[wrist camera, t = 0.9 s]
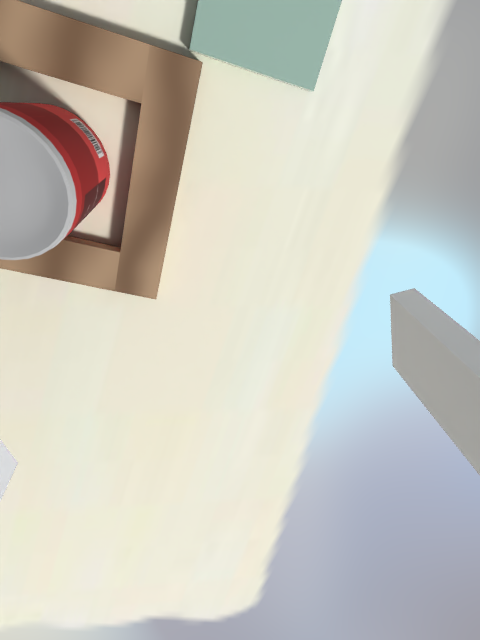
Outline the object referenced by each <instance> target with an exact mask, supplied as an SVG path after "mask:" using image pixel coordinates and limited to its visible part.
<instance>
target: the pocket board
mask: <svg viewBox="0 0 480 640" xmlns="http://www.w3.org/2000/svg"><path fill="white" fill-rule="evenodd" d="M0 61H2V62H5V63H8V64H12V65H15V66H18V67H22V68H25V69H28V70H31V71H35V72H38V73H41V74H45V75H48V76H51V77H55V78H58V79H61V80H65V81H68V82H71V83H75V84H78V85H81V86H85V87H88V88H91V89H95V90H98V91H101V92H105V93H108V94H111V95H115V96H118V97H121V98H125V99H128V100H131V101H135V102H138V103H141V110H140V117H139V124H138V131H137V138H136V145H135V152H134V159H133V166H132V173H131V180H130V187H129V194H128V201H127V208H126V215H125V222H124V229H123V236H122V243H121V247H116V246H112V245H107V244H103V243H98V242H94V241H89V240H85V239H80V238H76V237H71V236H66V237H65V238H64V239H63V240H62V241H61V242H60V243H59V244H58V245H57V246H55V247H54V248H52V249H50V250H48V251H47V252H45V253H43V254H41V255H39V256H35V257H32V258H29V259H21V260H3V259H0V268H2V269H7V270H12V271H17V272H22V273H27V274H32V275H37V276H42V277H47V278H52V279H57V280H62V281H67V282H72V283H77V284H82V285H87V286H92V287H97V288H102V289H107V290H112V291H117V292H122V293H127V294H132V295H137V296H142V297H147V298H152V299H156V297H157V292H158V287H159V282H160V277H161V272H162V267H163V262H164V256H165V251H166V246H167V241H168V236H169V231H170V226H171V221H172V216H173V210H174V205H175V200H176V195H177V190H178V185H179V180H180V175H181V170H182V165H183V159H184V154H185V149H186V144H187V139H188V134H189V129H190V124H191V119H192V114H193V108H194V103H195V98H196V93H197V88H198V83H199V78H200V73H201V68H202V62H201V61H198V60H195V59H192V58H189V57H186V56H183V55H180V54H177V53H174V52H171V51H168V50H165V49H162V48H159V47H156V46H153V45H150V44H147V43H144V42H141V41H138V40H135V39H132V38H129V37H126V36H123V35H120V34H117V33H114V32H111V31H108V30H105V29H102V28H99V27H96V26H93V25H90V24H87V23H84V22H81V21H78V20H75V19H72V18H69V17H66V16H63V15H60V14H57V13H54V12H51V11H48V10H45V9H42V8H39V7H36V6H33V5H30V4H27V3H24V2H21V1H18V0H0Z"/></svg>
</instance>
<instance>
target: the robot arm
mask: <svg viewBox="0 0 480 640" xmlns="http://www.w3.org/2000/svg"><path fill="white" fill-rule="evenodd" d="M390 301H391V302H390V304H391V333H392V359H393V367H394V368H395V369H396V370H397V372H398V373H399V374H400V375H401V377H402V378H403V379H404V381H406V383H407V384H408V386H409V387H410V388H411V389H412V391H413V392H414V393H415V394H416V396H417V397H418V398H419V399H420V401H421V402H422V403H423V404H424V406H425V407H426V408H427V410H428V411H429V412H430V413H431V414H432V416H433V417H434V418H435V419H436V421H437V422H438V423H439V425H440V426H441V427H442V428H443V430H444V431H445V432H446V433H447V435H448V436H449V437H450V438H451V440H452V441H453V442H454V444H455V445H456V446H457V447H458V448H459V450H460V451H461V452H462V453H463V455H464V456H465V457H466V459H467V460H468V461H469V462H470V464H471V465H472V466H473V468H474V469H475V470H476V471H477V473H478V474H479V475H480V341H479V340H478V339H477V338H475V337H474V336H473V335H472V334H471V333H469V332H468V331H467V330H466V329H464V328H463V327H462V326H460V325H459V324H458V323H457V322H456V321H454V320H453V319H452V318H451V317H449V316H448V315H447V314H446V313H444V312H443V311H442V310H441V309H439V308H438V307H437V306H436V305H435V304H433V303H432V302H431V301H430V300H428V299H427V298H426V297H424V296H423V295H422V294H421V293H419V292H418V291H417V290H416V289H410V290H406V291H402V292H398V293H395V294H391V295H390ZM17 464H18V462H17V461H16V459H15V458H14V457H13V455H12V454H11V453H10V451H9V450H8V449H7V447H6V446H5V445H4V443H3V442H2V441H1V439H0V501H1V499H2V496H3V494H4V492H5V490H6V488H7V485H8V483H9V481H10V479H11V477H12V475H13V472H14V470H15V468H16V466H17Z"/></svg>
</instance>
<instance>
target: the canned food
mask: <svg viewBox="0 0 480 640" xmlns="http://www.w3.org/2000/svg"><path fill="white" fill-rule="evenodd" d="M109 177H110V170H109V162H108V158H107V155H106V152H105V149H104V147H103V145H102V143H101V141H100V140H99V138H98V137H97V135H96V134H95V133H94V131H93V130H92V129H91V128H90V127H89V126H88V125H87V124H86V123H85V122H84V121H83V120H81V119H80V118H79V117H77V116H76V115H75V114H73V113H71V112H69V111H67V110H65V109H63V108H60V107H57V106H54V105H50V104H41V103H11V102H0V259H3V260H21V259H29V258H32V257H35V256H39V255H41V254H43V253H45V252H47V251H48V250H50V249H52V248H54V247H55V246H57V245H58V244H59V243H60V242H61V241H62V240H63V239H64V238H65V237H66V236H67V235H68V234H69V233H71V232H72V230H73V229H74V228H75V227H76V226H77V225H78V224H79V223H80V222H81V221H82V220H83V219H84V218H85V217H86V216H87V215H88V214H89V213H90V212H91V211H92V210H93V209H94V208H95V207H96V205H97V204H98V203H99V202H100V201H101V200H102V198H103V197H104V195H105V193H106V190H107V188H108V185H109Z"/></svg>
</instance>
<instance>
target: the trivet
mask: <svg viewBox="0 0 480 640" xmlns="http://www.w3.org/2000/svg"><path fill="white" fill-rule="evenodd" d="M341 1H342V0H198V5H197V10H196V16H195V21H194V27H193V32H192V38H191V43H190V49H189V50H190V51H192V52H195V53H198V54H201V55H204V56H207V57H210V58H213V59H216V60H219V61H222V62H225V63H228V64H231V65H234V66H237V67H240V68H243V69H246V70H249V71H252V72H254V73H257V74H260V75H263V76H266V77H269V78H272V79H275V80H278V81H281V82H284V83H287V84H290V85H293V86H296V87H299V88H302V89H305V90H308V91H314V88H315V85H316V82H317V78H318V75H319V72H320V69H321V66H322V62H323V59H324V56H325V53H326V50H327V46H328V43H329V40H330V37H331V34H332V30H333V27H334V24H335V21H336V18H337V14H338V11H339V8H340V5H341Z"/></svg>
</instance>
